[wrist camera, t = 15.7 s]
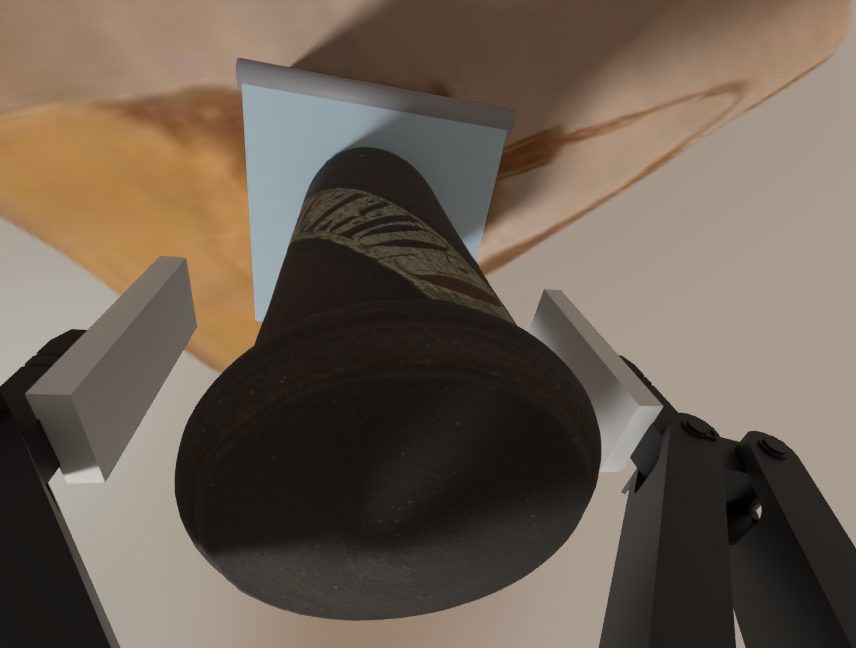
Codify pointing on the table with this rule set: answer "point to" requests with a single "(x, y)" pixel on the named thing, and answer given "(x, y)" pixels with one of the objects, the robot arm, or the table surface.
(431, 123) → the lid
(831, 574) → the robot arm
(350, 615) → the container
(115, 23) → the table surface
